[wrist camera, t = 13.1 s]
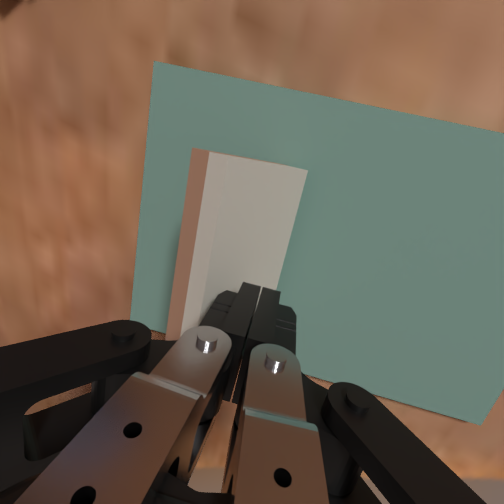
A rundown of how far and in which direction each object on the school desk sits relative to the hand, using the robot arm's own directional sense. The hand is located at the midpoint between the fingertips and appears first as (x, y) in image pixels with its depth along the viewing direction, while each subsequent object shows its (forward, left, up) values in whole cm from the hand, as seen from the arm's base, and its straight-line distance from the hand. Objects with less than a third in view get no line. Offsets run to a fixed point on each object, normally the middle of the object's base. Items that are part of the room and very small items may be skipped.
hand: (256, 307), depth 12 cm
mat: (-3, -1, -6) cm, 7 cm away
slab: (0, -1, -5) cm, 5 cm away
